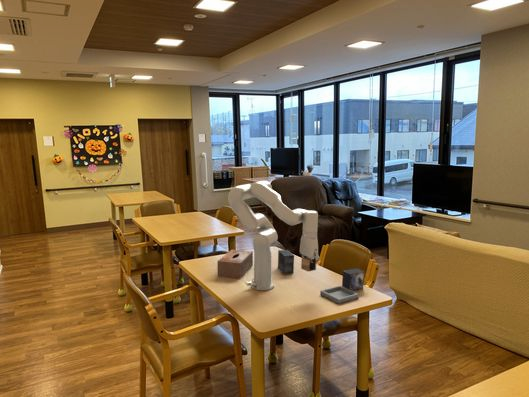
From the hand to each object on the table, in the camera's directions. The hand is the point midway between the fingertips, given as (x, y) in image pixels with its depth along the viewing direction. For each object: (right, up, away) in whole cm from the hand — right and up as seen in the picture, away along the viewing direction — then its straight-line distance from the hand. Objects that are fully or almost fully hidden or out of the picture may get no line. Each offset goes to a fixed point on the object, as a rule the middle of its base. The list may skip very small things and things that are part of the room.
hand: (308, 267), depth 202 cm
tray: (+16, -15, +1) cm, 22 cm away
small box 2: (+26, -14, +12) cm, 32 cm away
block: (0, -1, 0) cm, 1 cm away
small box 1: (-10, -10, +41) cm, 43 cm away
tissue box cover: (-41, -10, +39) cm, 58 cm away
